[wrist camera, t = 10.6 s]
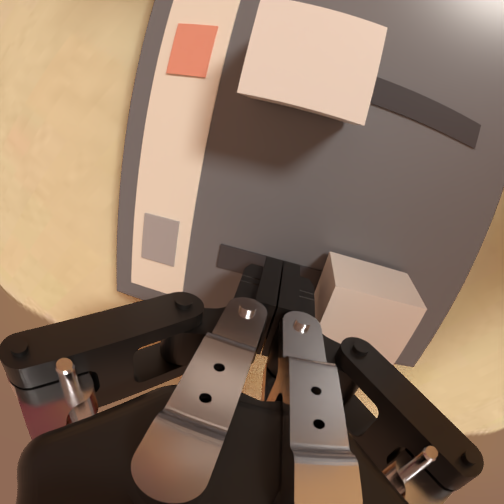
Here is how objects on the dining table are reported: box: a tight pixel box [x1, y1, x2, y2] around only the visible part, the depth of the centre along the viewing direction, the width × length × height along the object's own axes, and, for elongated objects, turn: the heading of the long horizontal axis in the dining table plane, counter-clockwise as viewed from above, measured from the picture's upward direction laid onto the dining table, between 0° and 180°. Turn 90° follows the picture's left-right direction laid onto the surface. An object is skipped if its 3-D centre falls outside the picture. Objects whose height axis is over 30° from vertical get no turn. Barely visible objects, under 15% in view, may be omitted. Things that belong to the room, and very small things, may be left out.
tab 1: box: [237, 0, 387, 126], centre depth 9 cm, size 4×4×3 cm
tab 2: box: [314, 252, 427, 365], centre depth 13 cm, size 4×4×3 cm
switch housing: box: [117, 0, 504, 367], centre depth 12 cm, size 18×26×3 cm
